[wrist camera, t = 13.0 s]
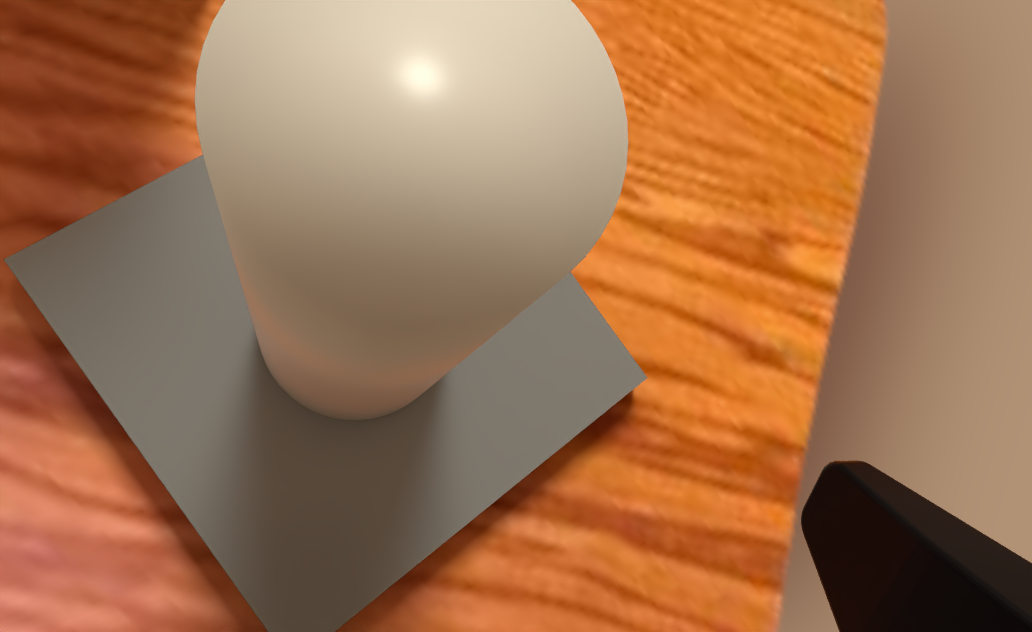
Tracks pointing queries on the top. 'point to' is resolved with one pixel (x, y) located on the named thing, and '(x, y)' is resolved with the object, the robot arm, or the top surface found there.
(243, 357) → the slate board
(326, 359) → the cream bottle
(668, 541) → the top surface
